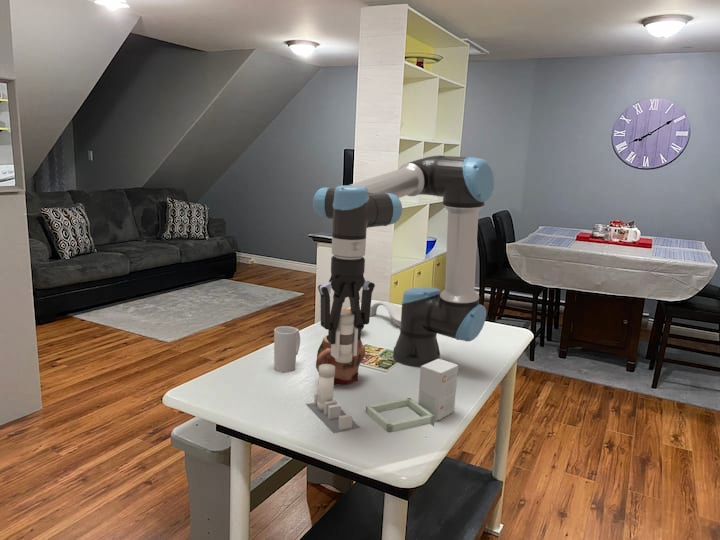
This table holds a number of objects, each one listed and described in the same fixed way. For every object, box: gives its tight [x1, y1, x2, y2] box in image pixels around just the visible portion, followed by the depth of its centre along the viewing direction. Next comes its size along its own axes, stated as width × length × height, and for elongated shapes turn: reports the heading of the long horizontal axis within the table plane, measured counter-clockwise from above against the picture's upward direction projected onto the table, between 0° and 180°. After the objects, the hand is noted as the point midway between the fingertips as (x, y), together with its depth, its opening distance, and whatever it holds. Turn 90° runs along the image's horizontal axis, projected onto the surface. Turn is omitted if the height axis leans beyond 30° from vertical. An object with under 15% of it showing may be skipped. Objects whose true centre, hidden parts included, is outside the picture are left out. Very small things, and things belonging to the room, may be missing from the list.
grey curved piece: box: [370, 301, 402, 328], centre depth 219 cm, size 24×12×7 cm, turn 49°
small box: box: [417, 358, 459, 422], centre depth 144 cm, size 8×6×13 cm
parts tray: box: [365, 397, 435, 433], centre depth 139 cm, size 13×11×3 cm
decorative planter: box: [315, 334, 366, 386], centre depth 158 cm, size 20×12×14 cm, turn 152°
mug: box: [273, 325, 301, 373], centre depth 169 cm, size 10×7×12 cm, turn 147°
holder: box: [305, 364, 361, 434], centre depth 137 cm, size 7×16×12 cm, turn 29°
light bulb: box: [335, 312, 354, 363], centre depth 130 cm, size 4×4×11 cm
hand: (343, 355), depth 131 cm, fingers closed on light bulb, 4 cm apart
